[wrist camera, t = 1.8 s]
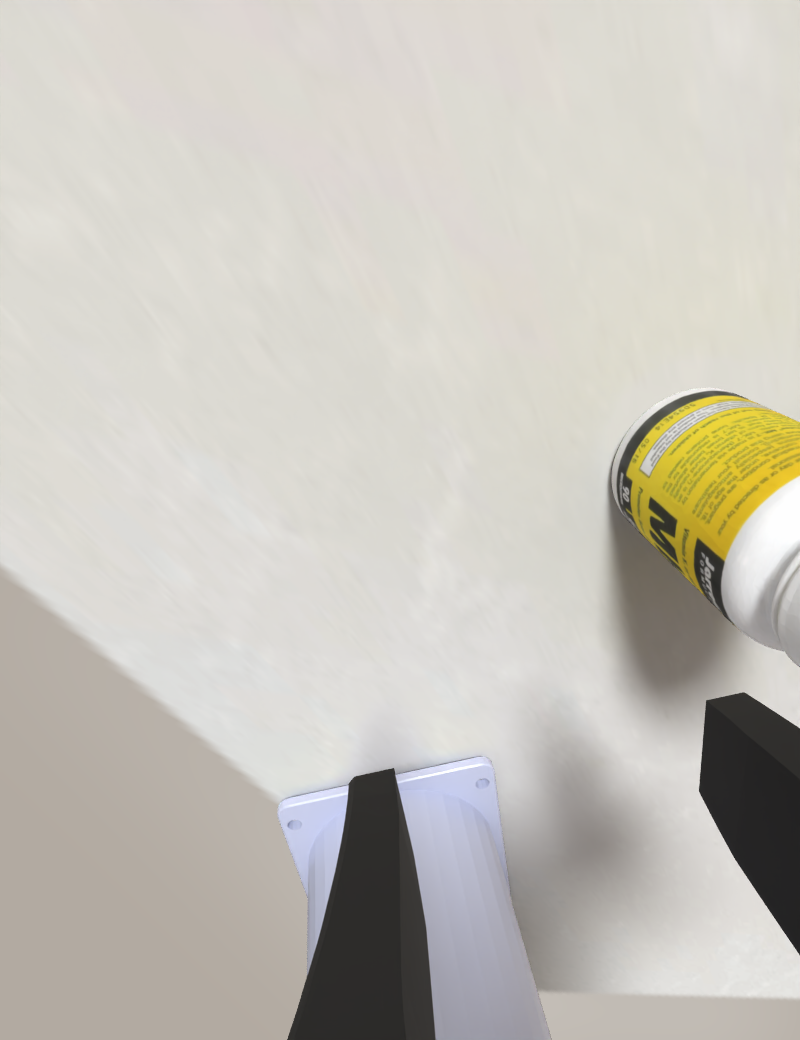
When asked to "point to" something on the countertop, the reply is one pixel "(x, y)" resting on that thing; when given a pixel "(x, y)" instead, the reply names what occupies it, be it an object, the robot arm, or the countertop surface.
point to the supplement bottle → (721, 504)
